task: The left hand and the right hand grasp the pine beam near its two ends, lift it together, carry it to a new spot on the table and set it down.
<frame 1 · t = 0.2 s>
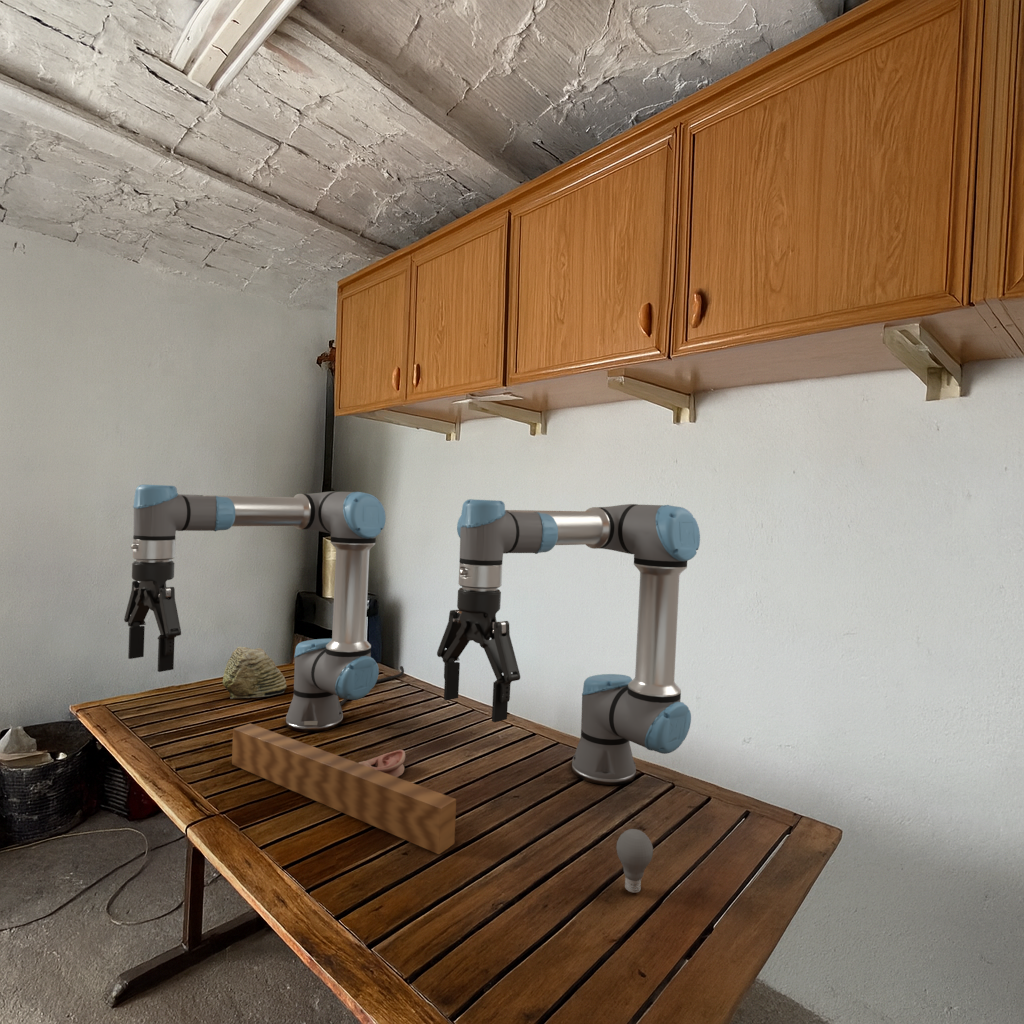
left hand: (150, 664, 129), 28 cm above the table, tool pointing down, fingers open, 13 cm apart
right hand: (474, 709, 111), 28 cm above the table, tool pointing down, fingers open, 13 cm apart
fossil: (254, 694, 198), on the table
beam: (330, 799, 133), on the table
light bulb: (632, 891, 106), on the table
anatomical model: (374, 772, 146), on the table
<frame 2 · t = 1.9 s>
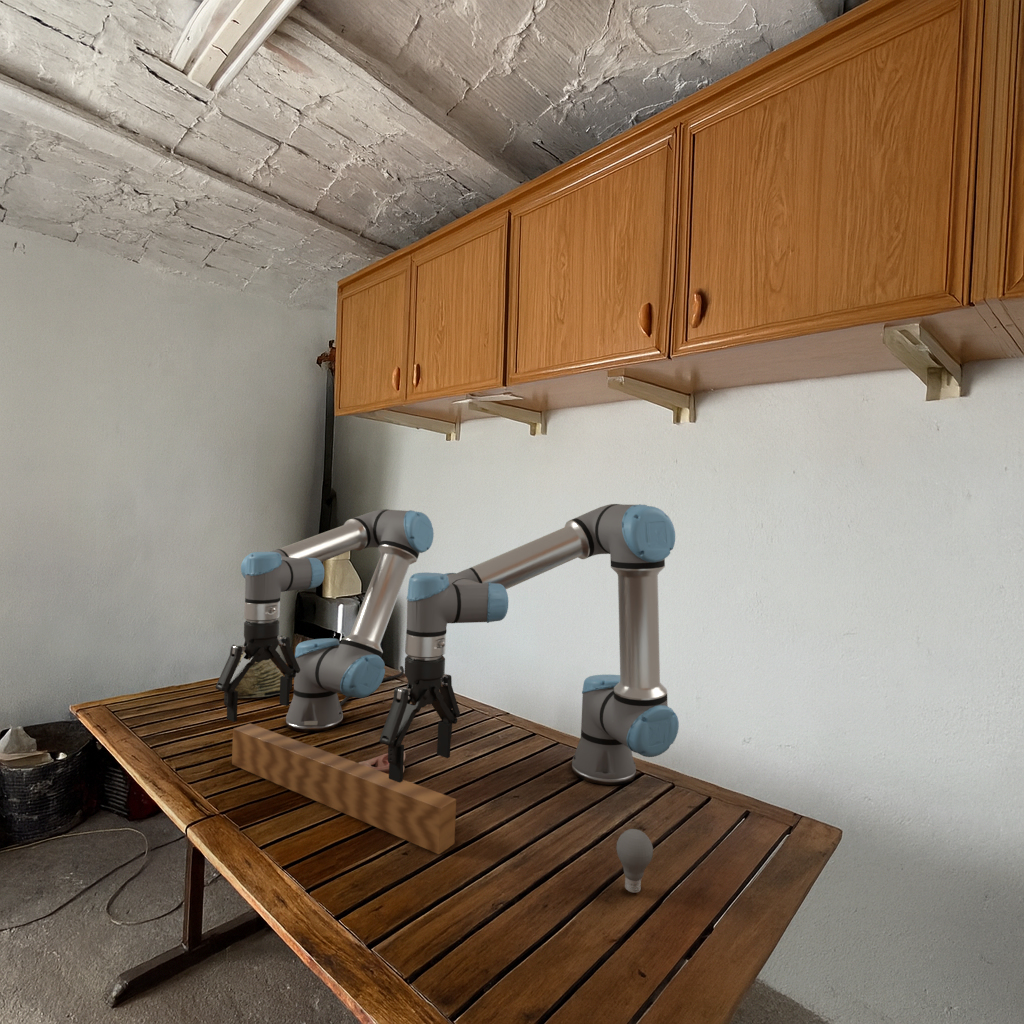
left hand: (259, 712, 145), 13 cm above the table, tool pointing down, fingers open, 13 cm apart
right hand: (420, 767, 120), 13 cm above the table, tool pointing down, fingers open, 13 cm apart
nothing on the table moved.
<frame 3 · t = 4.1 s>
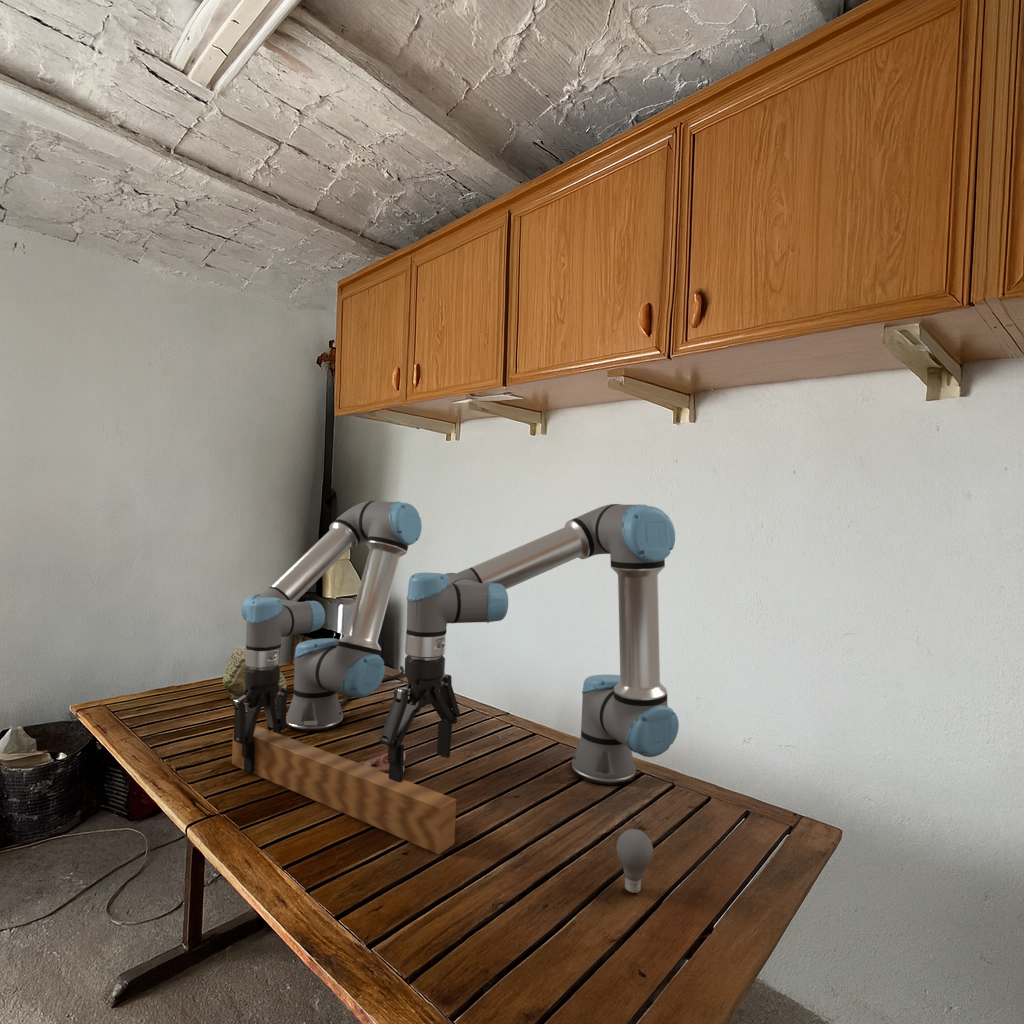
left hand: (259, 766, 146), 1 cm above the table, tool pointing down, fingers closed on beam, 5 cm apart
right hand: (420, 767, 120), 13 cm above the table, tool pointing down, fingers open, 13 cm apart
beam: (330, 799, 133), on the table, touching left hand
everything else where it was.
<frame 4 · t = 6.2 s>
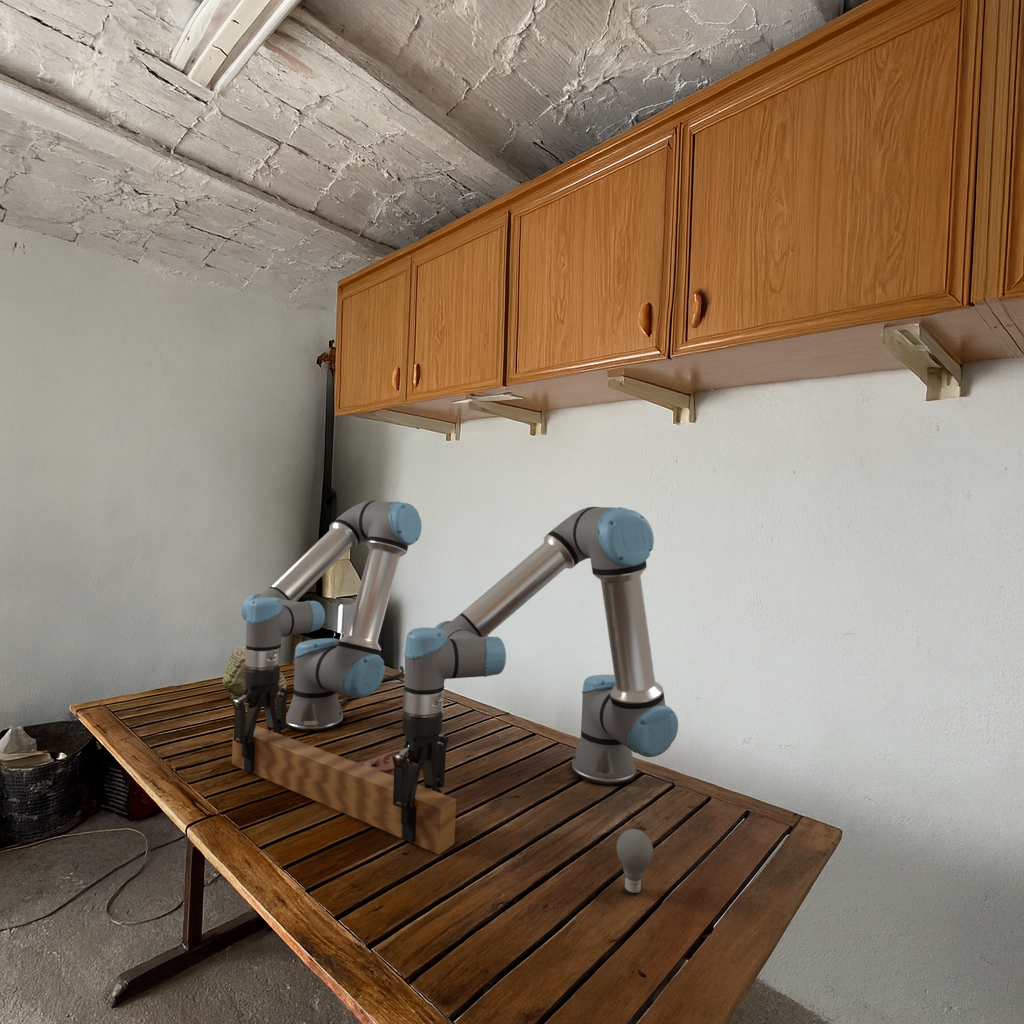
left hand: (259, 766, 146), 1 cm above the table, tool pointing down, fingers closed on beam, 5 cm apart
right hand: (417, 833, 120), 1 cm above the table, tool pointing down, fingers closed on beam, 5 cm apart
beam: (330, 799, 133), on the table, touching left hand, right hand
everything else where it was.
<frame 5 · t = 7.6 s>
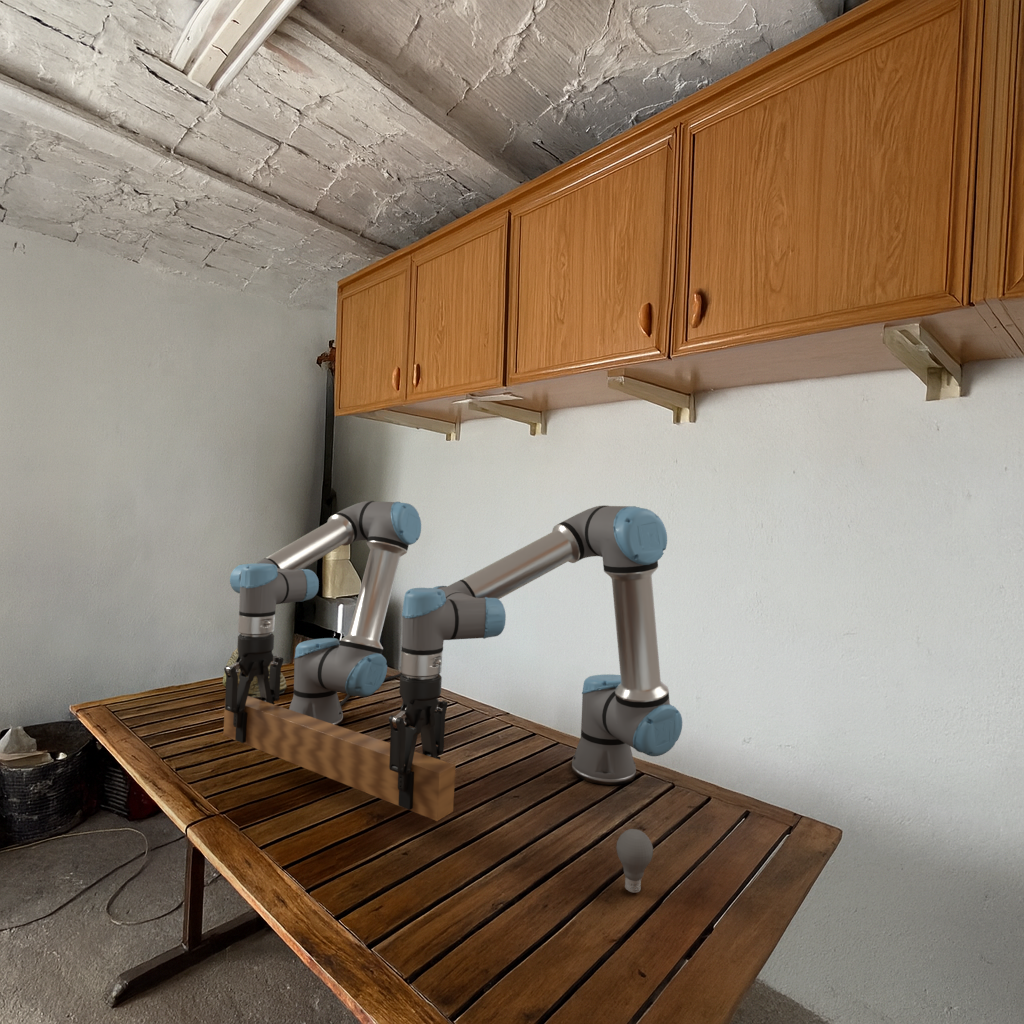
left hand: (251, 737, 141), 9 cm above the table, tool pointing down, fingers closed on beam, 5 cm apart
right hand: (415, 801, 115), 9 cm above the table, tool pointing down, fingers closed on beam, 5 cm apart
beam: (325, 769, 128), point 8 cm above the table, touching left hand, right hand
everything else where it was.
when the left hand's fingers open (2 cm above the table, at t = 9.4 s): beam drops 2 cm, on the table.
when the right hand's fingers open (2 cm above the table, at t = 9.4 s): beam drops 2 cm, on the table.
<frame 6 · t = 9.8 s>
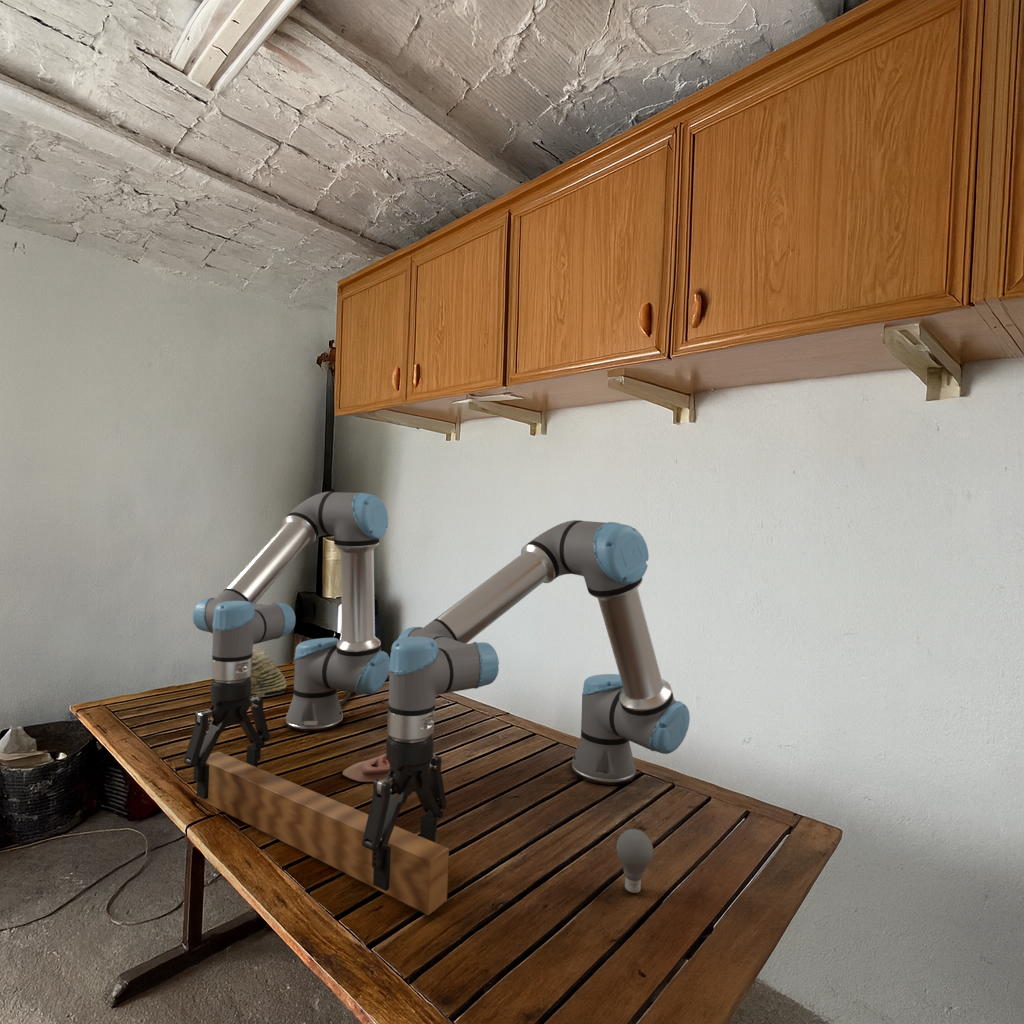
left hand: (227, 786, 129), 4 cm above the table, tool pointing down, fingers open, 10 cm apart
right hand: (405, 870, 103), 4 cm above the table, tool pointing down, fingers open, 10 cm apart
beam: (306, 842, 116), on the table
everything else where it was.
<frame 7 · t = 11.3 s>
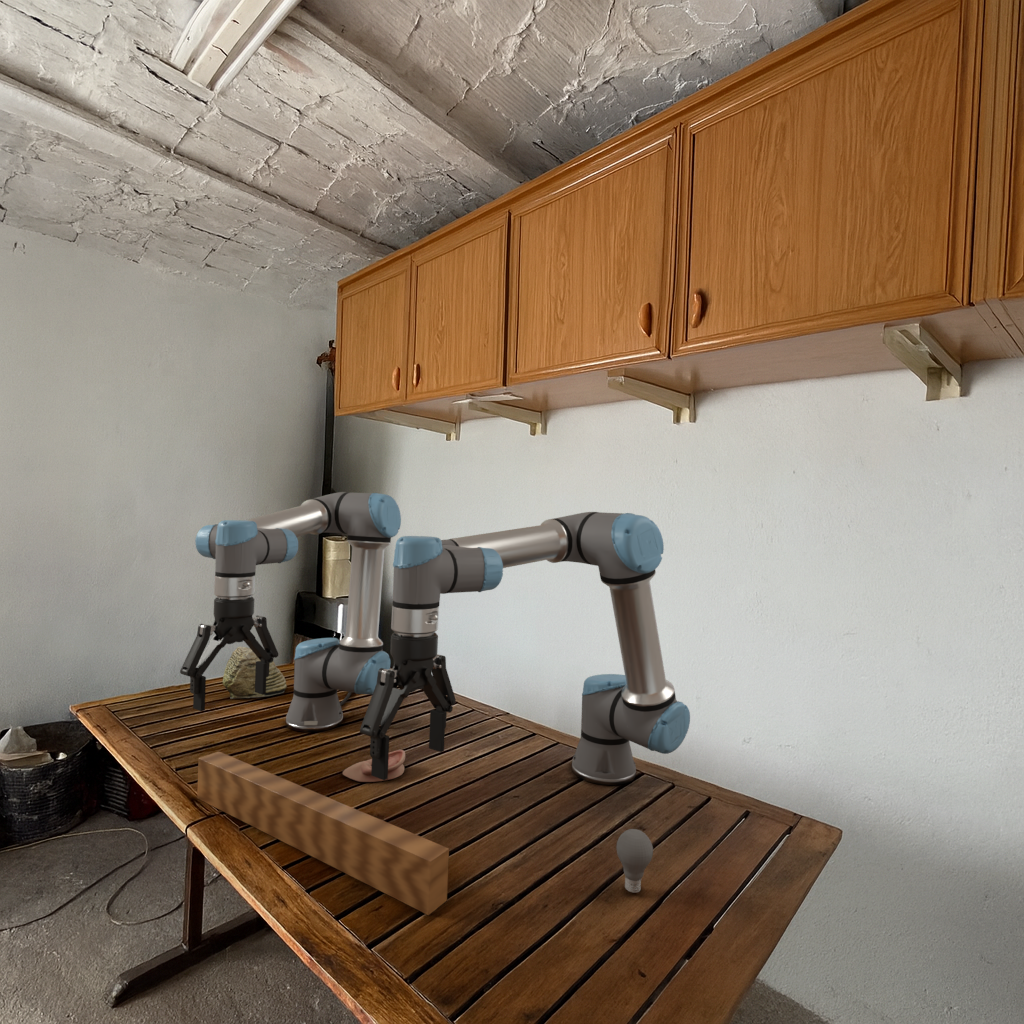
left hand: (230, 701, 128), 21 cm above the table, tool pointing down, fingers open, 13 cm apart
right hand: (409, 762, 102), 21 cm above the table, tool pointing down, fingers open, 13 cm apart
nothing on the table moved.
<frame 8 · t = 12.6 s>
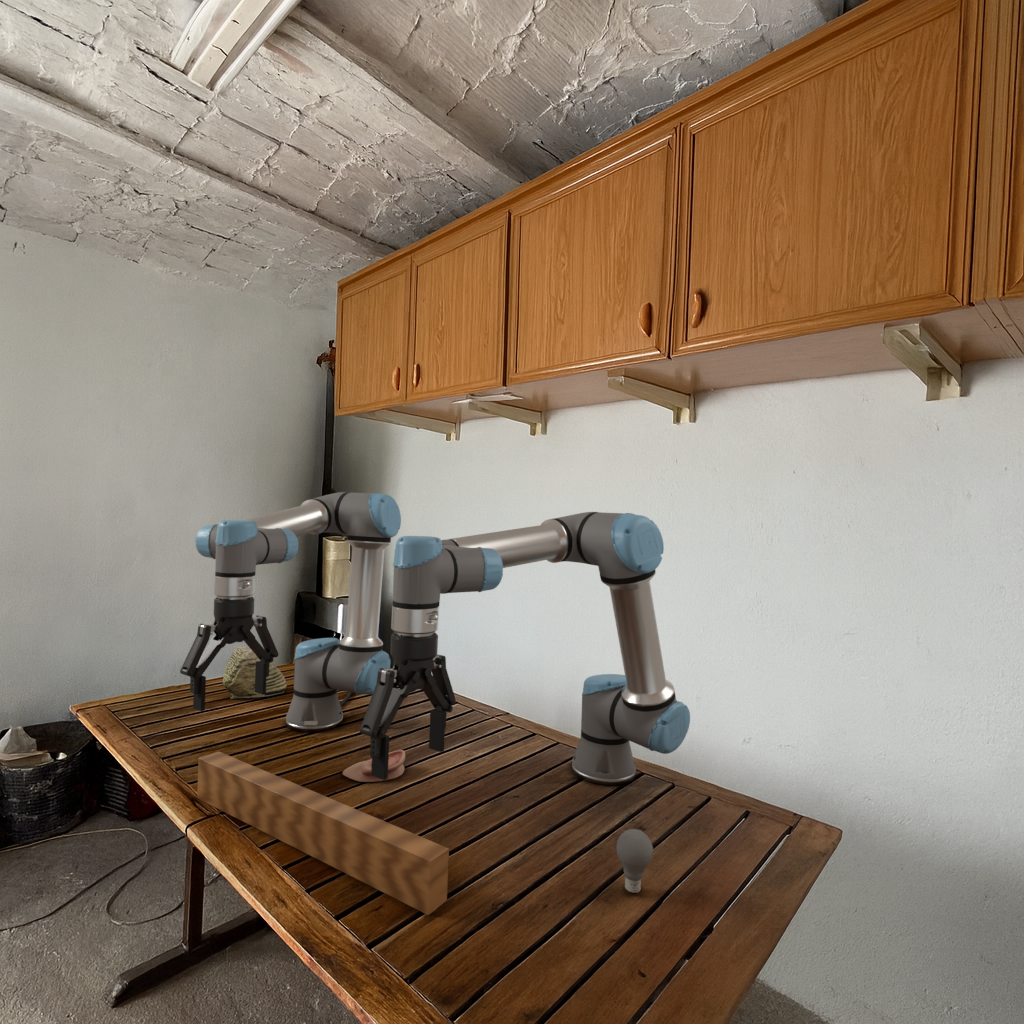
left hand: (230, 700, 128), 21 cm above the table, tool pointing down, fingers open, 13 cm apart
right hand: (409, 762, 102), 21 cm above the table, tool pointing down, fingers open, 13 cm apart
nothing on the table moved.
at the end: beam inside the target area (0.1 cm from its centre), on the table; beam tilted 0°; beam never tilted more than 2° during the clip; both hands held the beam at the same time; the left hand is holding nothing; the right hand is holding nothing; beam at rest at the end (0.0 cm/s) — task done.
